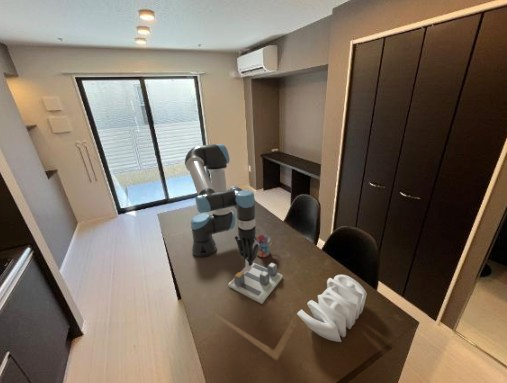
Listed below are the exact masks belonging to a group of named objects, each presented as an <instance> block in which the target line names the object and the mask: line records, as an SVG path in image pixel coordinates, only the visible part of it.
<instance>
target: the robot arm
mask: <svg viewBox="0 0 507 383" xmlns="http://www.w3.org/2000/svg"><path fill="white" fill-rule="evenodd" d="M229 163H230V155H229V151H228V148H227V147H226V145H225V144H223V143H214V144H205V145H198V146H197V145H196V146H194V147H192V148H191V149H190V150H189V151H188V152H187V153H186V155H185V159H184V165H185V168H186V170H187V171H188V172H189V174H190V177H191V179H192V183H193V186H194V187H195V191H196V193H197V196H195V198H194V199H195V206H196V209H197V212H198V213H199V214H196V215H195V216H193V217H192V218H191V220H190V229H191V233H192V234H191V235H192V239H193V242H192V247H191V253H192V254H193V256H194V257H198V258H204V257H205V258H206V257H209V256H210V255H213V254H214V253H215V252H216V251H217V243H216V242H215V240H214V237H213V235H215V234H216V235H217V234H220V233H223V232H228V231H230V230H233V229H234V228H235V226H236V218H237V229H238V230H237V231H238V234H237V235H236V236H234V240H235V241H236V244H237V247H238V252H239V255H240V257H243V260H244V262H243V263H244V265H245V267H246V271H248V272H249V271H250V270H251V269H252V264H253V263H254V261H255V259H257V257H258V255H257V253H258V248H259V246H260V245H261V243H260V242H259V243H258V242H257V241H256V233H257V231H256V208H255V207H256V199H255V194H254V192H253V191H251V190H247V189H244V190H243V189H242V188H241V187H239V186H235V185H234V186H230V187H229V188H228V189H227V181H226V172H225V171H226V169H227V168H228V166H227V164H229ZM205 167H206V169H205ZM206 170H208V172H209V175H210V178H209V175H208V173H207V171H206ZM232 207H234V208H235V209H236V213H237V214H236V215H237V217H236V216H235V213H234V211H233V210H232ZM210 212H212V214H211V215H210Z"/></svg>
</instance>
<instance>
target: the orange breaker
mask: <svg viewBox="0 0 507 383" xmlns="http://www.w3.org/2000/svg"><path fill="white" fill-rule="evenodd" d="M240 272H241V271H240ZM240 272H239V271H238V272H237V273H236V274H234V275H233V279H234V281H235V284H236V285H238V286H239V287H241V286H242V285H243V284H244V283H245V280H244V274H242V273H240Z"/></svg>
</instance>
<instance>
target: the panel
mask: <svg viewBox="0 0 507 383" xmlns="http://www.w3.org/2000/svg"><path fill="white" fill-rule="evenodd" d="M240 273H242V274H244V280H245V283H244V284H243V285H242V286H241V287H239V286H238V285H236V284H235V281H234V278H233V279H232V280H231V281H229V283H228V287H229V288H231V289H233V290H234V291H237V292H238V293H240V294H242V295H244V296H246V297H248V298H249V299H251V300H253V301H255V302H257V303H259V304H264V302H265V301H266V300H267V298H268V296H269V295H270V294H271V293H272V292H273V290H274V289H275V288H276V287H277V285H278V284H279V283H280V281H282V279H283V274H281V273H279V272H278V264H276V263H274V262H270V263H269V264H268V265H267V267H265V266H263V265H260V264H257V263H255V262H253V264H252V269H251V270H250V271H249V272H248V271H246V266H245V267H244V268H243V269H242V270H241V271H240Z"/></svg>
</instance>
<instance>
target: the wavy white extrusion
mask: <svg viewBox="0 0 507 383" xmlns="http://www.w3.org/2000/svg"><path fill="white" fill-rule="evenodd" d="M326 285H327V287H326V289H325V290H323V292H322V294H317V300H318V303H317V302H316V301H314V300H313V299H311V300H309V301H308V302H307V306H308V309H309V310H310V312H311V314H312V316H313V317H312V316H311V315H310V314H308V313H306V311H304V310H303V309H300V310H298V312H297V313H296V315H297V316H298V317H299V318H300V319H301V321H302V322H304V324H305V325H306V326H307V327H308V328H309V329H310V330H312V332H314V333H315V334H317V335H318V336H320V337H322V338H324V339H326V340H329V341H332V342H335V343H336V342H338V343H342V339H341V337H342V338H345V337H346V335H347V329H348V330H350V329H352V326H354V325H355V323H356V320H357V319H359V316H360V315H361V314H362V313H363V310H364V307H365V303H366V298H367V295H368V293H367V291H366V290H365V287H363V285H361V284H360V283H359V282H358V281H357V280H355V279H354V278H352V277H351V276H348V275H347V274H337V275H335V276H334V278H331V277H329V278H328V279H327V281H326Z"/></svg>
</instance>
